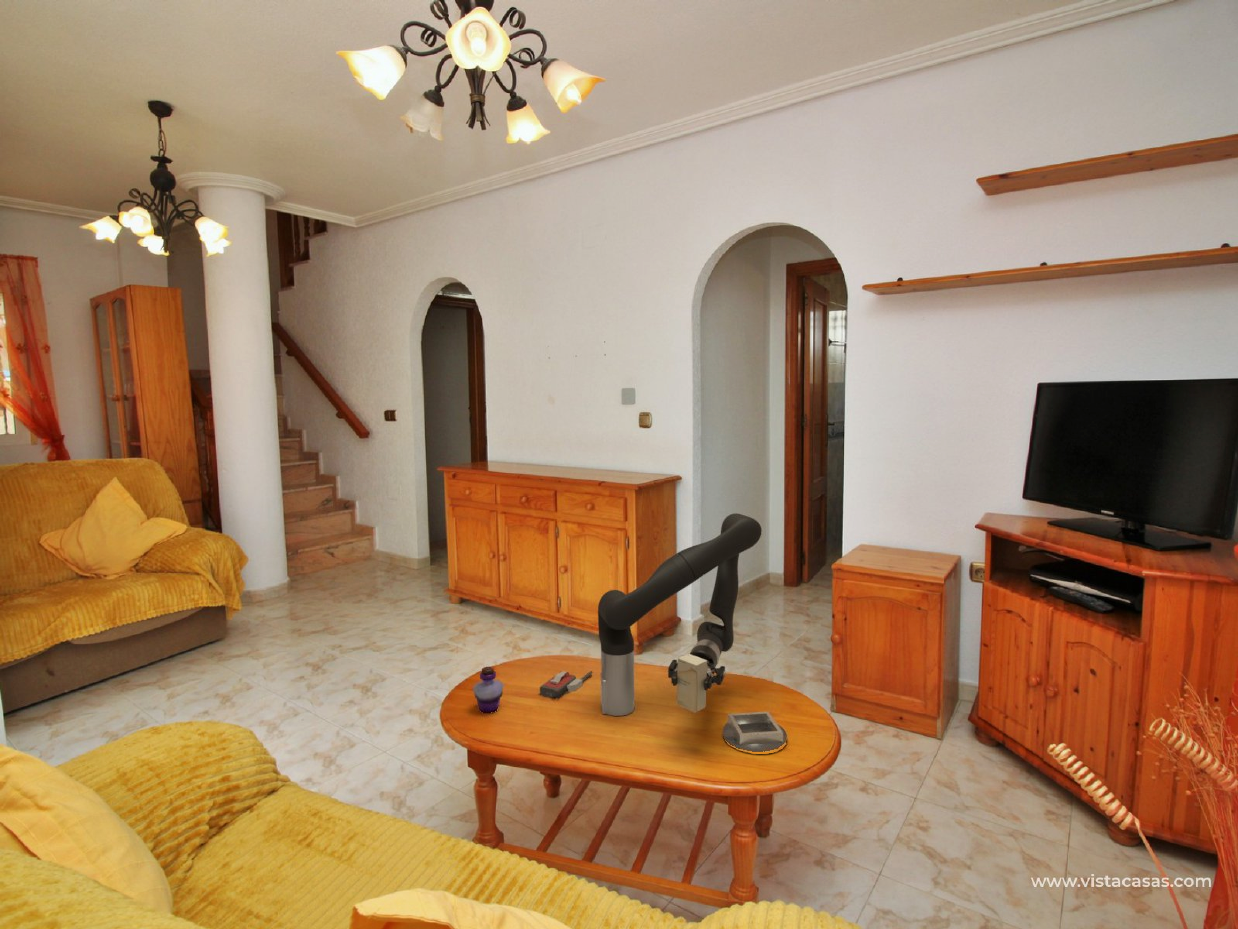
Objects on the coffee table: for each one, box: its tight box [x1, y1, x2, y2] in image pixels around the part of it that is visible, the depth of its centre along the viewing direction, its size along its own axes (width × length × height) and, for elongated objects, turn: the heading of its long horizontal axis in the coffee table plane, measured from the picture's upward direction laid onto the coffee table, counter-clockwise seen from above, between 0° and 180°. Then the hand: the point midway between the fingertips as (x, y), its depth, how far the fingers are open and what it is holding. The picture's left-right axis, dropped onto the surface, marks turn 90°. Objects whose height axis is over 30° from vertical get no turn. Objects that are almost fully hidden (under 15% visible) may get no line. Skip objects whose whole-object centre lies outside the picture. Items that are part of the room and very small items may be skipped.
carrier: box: [722, 711, 788, 752], centre depth 168 cm, size 16×16×4 cm
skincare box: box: [676, 652, 707, 713], centre depth 162 cm, size 6×4×12 cm
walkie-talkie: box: [539, 670, 594, 700], centre depth 200 cm, size 9×4×20 cm
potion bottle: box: [472, 666, 505, 713], centre depth 184 cm, size 9×9×12 cm
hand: (689, 684), depth 160 cm, fingers closed on skincare box, 7 cm apart
